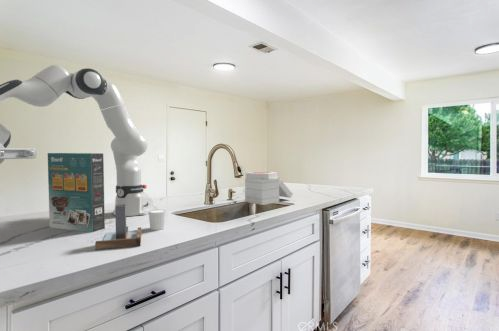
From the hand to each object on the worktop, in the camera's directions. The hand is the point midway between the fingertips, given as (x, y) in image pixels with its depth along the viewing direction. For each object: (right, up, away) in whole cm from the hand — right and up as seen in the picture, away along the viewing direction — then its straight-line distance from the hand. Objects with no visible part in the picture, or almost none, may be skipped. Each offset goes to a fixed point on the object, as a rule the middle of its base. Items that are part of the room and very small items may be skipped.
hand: (17, 153), depth 96 cm
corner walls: (+31, -30, +6) cm, 43 cm away
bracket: (+29, -29, +10) cm, 43 cm away
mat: (+30, -30, +9) cm, 43 cm away
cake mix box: (+5, -29, +24) cm, 38 cm away
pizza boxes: (+86, -26, +91) cm, 128 cm away
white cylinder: (+38, -29, +24) cm, 53 cm away
